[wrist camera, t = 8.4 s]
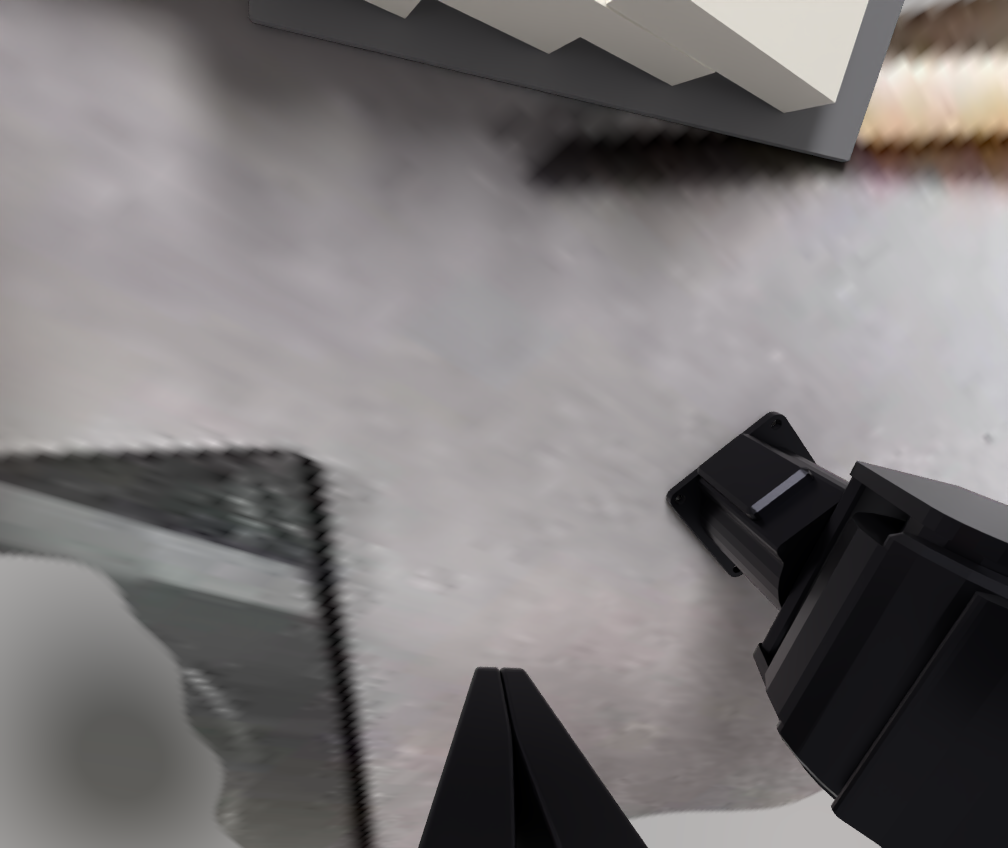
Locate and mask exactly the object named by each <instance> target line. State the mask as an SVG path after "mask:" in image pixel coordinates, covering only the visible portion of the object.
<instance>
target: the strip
mask: <svg viewBox="0 0 1008 848" xmlns="http://www.w3.org/2000/svg"><path fill="white" fill-rule="evenodd" d="M903 3H904V0H869V1H868V4H867V7H866V10H865V13H864V16H863V19H862V23H861V26H860V29H859V32H858V35H857V38H856V41H855V44H854V47H853V50H852V53H851V56H850V59H849V62H848V65H847V68H846V71H845V74H844V77H843V80H842V84H841V87H840V90H839V93H838V96H837V99H836V102H835V103H831V104H826V105H821V106H816V107H811V108H806V109H801V110H796V111H791V112H786V113H783V112H781V111H780V110H778V109H776V108H775V107H773V106H772V105H770V104H768V103H767V102H765V101H763V100H762V99H760V98H758V97H757V96H755V95H754V94H752V93H750V92H749V91H747V90H745V89H744V88H742V87H740V86H739V85H737V84H736V83H734V82H732V81H731V80H729V79H727V78H726V77H724V76H722V75H721V74H719V73H718V72H716V71H715V73H712V74H709V75H705V76H702V77H699V78H696V79H693V80H690V81H686V82H683V83H680V84H677V85H674V86H671V85H669V84H668V83H666V82H664V81H662V80H660V79H658V78H656V77H654V76H653V75H651V74H649V73H647V72H645V71H643V70H641V69H639V68H638V67H636V66H634V65H632V64H630V63H628V62H626V61H624V60H622V59H621V58H619V57H617V56H615V55H613V54H611V53H609V52H607V51H606V50H604V49H602V48H600V47H598V46H596V45H594V44H592V43H591V42H589V41H587V40H585V39H583V38H581V37H579V38H577V39H576V40H574V41H572V42H570V43H568V44H566V45H564V46H563V47H561V48H559V49H557V50H555V51H553V52H551V53H550V54H548V53H546V52H544V51H542V50H539V49H537V48H535V47H533V46H531V45H529V44H527V43H525V42H523V41H521V40H519V39H517V38H515V37H513V36H510V35H508V34H506V33H504V32H502V31H500V30H498V29H496V28H494V27H492V26H490V25H488V24H486V23H483V22H481V21H479V20H477V19H475V18H473V17H471V16H469V15H467V14H465V13H463V12H461V11H459V10H457V9H454V8H452V7H450V6H448V5H446V4H444V3H442V2H440V1H438V0H421V1H420V2H419V3H418V4H417V5H416V7H415V8H414V9H413V10H412V11H411V12H410V14H409V15H408V16H407V17H406V18H402V17H400V16H398V15H396V14H393V13H391V12H389V11H387V10H385V9H382V8H380V7H378V6H376V5H373V4H371V3H369V2H367V1H365V0H249V19H250V20H251V21H252V22H253V23H256V24H261V25H265V26H269V27H273V28H277V29H282V30H286V31H290V32H294V33H299V34H303V35H307V36H311V37H315V38H320V39H324V40H328V41H332V42H337V43H341V44H345V45H349V46H354V47H358V48H362V49H366V50H370V51H375V52H379V53H383V54H387V55H392V56H396V57H400V58H404V59H408V60H413V61H417V62H421V63H425V64H430V65H434V66H438V67H442V68H446V69H451V70H455V71H459V72H463V73H468V74H472V75H476V76H480V77H484V78H489V79H493V80H497V81H501V82H506V83H510V84H514V85H518V86H523V87H527V88H531V89H535V90H539V91H544V92H548V93H552V94H556V95H561V96H565V97H569V98H573V99H577V100H582V101H586V102H590V103H594V104H599V105H603V106H607V107H611V108H615V109H620V110H624V111H628V112H632V113H637V114H641V115H645V116H649V117H653V118H658V119H662V120H666V121H670V122H675V123H679V124H683V125H687V126H692V127H696V128H700V129H704V130H708V131H713V132H717V133H721V134H725V135H730V136H734V137H738V138H742V139H746V140H751V141H755V142H759V143H763V144H768V145H772V146H776V147H780V148H784V149H789V150H793V151H797V152H801V153H806V154H810V155H814V156H818V157H822V158H827V159H831V160H835V161H839V162H846V161H849V159H850V156H851V153H852V151H853V148H854V145H855V142H856V139H857V136H858V133H859V130H860V127H861V125H862V122H863V119H864V116H865V113H866V110H867V107H868V104H869V101H870V98H871V96H872V93H873V90H874V87H875V84H876V81H877V78H878V75H879V72H880V70H881V67H882V64H883V61H884V58H885V55H886V52H887V49H888V46H889V43H890V41H891V38H892V35H893V32H894V29H895V26H896V23H897V20H898V17H899V15H900V12H901V9H902V6H903Z"/></svg>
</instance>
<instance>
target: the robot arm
mask: <svg viewBox="0 0 1008 848" xmlns="http://www.w3.org/2000/svg"><path fill="white" fill-rule="evenodd" d="M775 420H776V423H775V425H774V426H772V427H771V425H772V423H773V421H775ZM850 475H851V476H852V478H851V480H850V482H848V481H846V480H844V479H842V478H841V477H839V476H837V475H835V474H833V473H831V472H829V471H828V470H826V469H824V468H822V467H820V466H818V465H817V464H816V463H815V461H814V460H813V458H812V457H811V455H810V454H809V452H808V451H807V449H806V448H805V446H804V445H803V443H802V442H801V440H800V439H799V437H798V436H797V434H796V432H795V431H794V429H793V428H792V426H791V425H790V423H789V422H788V420H787V419H786V417H785V416H783V415H782V414H779V413H777V412H769V413H768V414H766V415H765V416H763V417H762V418H761V419H759V420H758V421H757V422H756V423H754V424H753V425H752V426H751V427H749V428H748V429H747V430H745V431H744V432H743V433H742V434H740V435H739V436H737V437H736V438H735V439H733V440H732V441H731V442H730V443H728V444H727V445H726V446H725V447H723V448H722V449H721V450H719V451H718V452H717V453H716V454H714V455H713V456H712V457H711V458H709V459H708V460H707V461H705V462H704V463H703V464H702V465H700V466H699V467H698V468H697V469H696V470H695V471H693V472H692V473H691V474H689V475H688V476H687V477H686V478H684V479H683V480H682V481H681V482H679V483H678V484H677V485H675V486H674V487H673V488H672V489H670V491H669V492H668V494H667V501H668V503H669V504H670V505H671V506H672V507H673V509H674V510H675V511H676V512H677V513H678V514H679V516H680V517H681V518H682V519H683V520H684V522H685V523H686V524H687V525H688V526H689V528H690V529H691V530H692V531H693V532H694V534H695V535H696V536H697V537H698V538H699V539H700V541H701V542H702V543H703V544H704V545H705V547H706V548H707V549H708V550H709V551H710V553H711V554H712V555H713V556H714V557H715V559H716V560H717V561H718V562H719V563H720V564H721V566H722V567H723V568H724V569H725V570H726V571H727V573H728V574H729V575H731V576H732V577H738V576H740V575H742V574H743V573H744V574H745V575H746V576H747V578H748V579H749V580H750V581H751V582H752V583H753V584H754V585H755V586H756V587H757V588H758V589H759V590H760V591H761V592H762V593H763V594H764V595H765V596H766V597H767V598H768V599H769V600H770V601H771V602H772V604H773V605H774V606H775V607H776V608H777V609H778V610H779V611H780V612H779V614H778V615H777V617H776V619H775V621H774V623H773V625H772V627H771V628H770V630H769V632H768V634H767V636H766V638H765V640H764V641H763V643H759V644H758V646H757V648H756V650H755V652H754V654H753V656H754V659H755V661H756V664H757V666H758V669H759V671H760V674H761V676H762V679H763V681H764V683H765V686H766V692H767V694H768V696H769V699H770V701H771V703H772V705H773V707H774V709H775V711H776V714H777V716H778V718H779V720H780V721H779V723H778V725H777V730H778V732H779V734H780V736H781V738H782V740H783V741H784V742H785V743H786V745H787V746H788V747H789V749H790V750H791V751H792V753H793V754H794V755H795V756H796V758H797V759H798V760H799V762H800V763H801V764H802V766H803V767H804V769H805V770H806V771H807V772H808V773H809V774H810V776H811V777H812V778H813V779H814V780H815V781H816V782H817V783H818V785H819V786H820V787H822V788H823V789H824V790H825V791H826V792H827V793H828V794H829V795H830V796H831V797H833V798H834V799H835V800H834V802H833V803H832V805H831V808H832V810H833V812H834V813H835V814H836V816H837V817H838V818H840V819H841V820H842V821H844V822H845V823H847V824H849V825H850V826H852V827H853V828H855V829H856V830H857V831H859V832H860V833H862V834H864V835H865V836H866V837H868V838H869V839H871V840H872V841H874V842H875V843H877V844H878V845H879V846H881V847H882V848H1008V505H1005V504H1003V503H1000V502H998V501H995V500H993V499H990V498H987V497H985V496H982V495H980V494H977V493H975V492H972V491H970V490H967V489H965V488H962V487H959V486H956V485H952V484H948V483H944V482H940V481H936V480H932V479H928V478H924V477H920V476H916V475H912V474H908V473H904V472H900V471H896V470H892V469H888V468H884V467H880V466H876V465H872V464H868V463H864V462H860V461H857V462H856V463H855V465H854V467H853V469H852V471H851V473H850ZM679 495H681V498H680V499H679V500H675V499H676V497H677V496H679ZM735 565H736V567H734V566H735ZM733 567H734V568H733ZM418 848H648V847H647V846H646V845H645V843H644V842H643V840H642V839H641V837H640V836H639V834H638V833H637V832H636V830H635V829H634V827H633V826H632V825H631V823H630V821H629V820H628V819H627V817H626V816H625V814H624V813H623V811H622V810H621V808H620V807H619V806H618V804H617V803H616V801H615V800H614V798H613V797H612V795H611V794H610V793H609V791H608V790H607V788H606V787H605V785H604V784H603V782H602V781H601V780H600V778H599V777H598V775H597V774H596V772H595V771H594V770H593V768H592V767H591V765H590V764H589V762H588V761H587V759H586V758H585V757H584V755H583V754H582V752H581V751H580V749H579V748H578V746H577V745H576V744H575V742H574V741H573V739H572V738H571V736H570V735H569V733H568V732H567V731H566V729H565V728H564V726H563V725H562V723H561V722H560V720H559V719H558V718H557V716H556V715H555V713H554V712H553V710H552V709H551V708H550V706H549V705H548V703H547V702H546V700H545V699H544V697H543V696H542V695H541V693H540V692H539V690H538V689H537V687H536V686H535V684H534V683H533V682H532V680H531V679H530V677H529V676H528V674H527V673H526V672H525V671H524V670H523V669H521V668H502V669H500V671H499V669H498V668H496V667H477V668H476V669H475V672H474V675H473V678H472V681H471V684H470V687H469V691H468V694H467V697H466V700H465V703H464V706H463V709H462V712H461V716H460V719H459V722H458V725H457V728H456V731H455V734H454V737H453V741H452V744H451V747H450V750H449V753H448V756H447V759H446V762H445V766H444V769H443V772H442V775H441V778H440V781H439V784H438V787H437V791H436V794H435V797H434V800H433V803H432V806H431V809H430V812H429V816H428V819H427V822H426V825H425V828H424V831H423V834H422V837H421V841H420V844H419V847H418Z"/></svg>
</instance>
